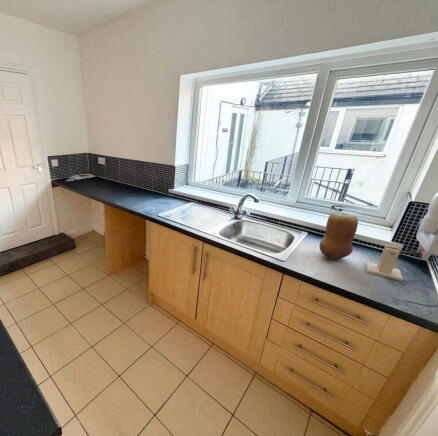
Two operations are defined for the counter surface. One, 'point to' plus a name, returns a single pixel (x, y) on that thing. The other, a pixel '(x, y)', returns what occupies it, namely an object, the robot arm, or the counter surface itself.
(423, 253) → the lever
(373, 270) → the stand
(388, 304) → the counter surface
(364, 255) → the counter surface
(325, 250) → the butternut squash
